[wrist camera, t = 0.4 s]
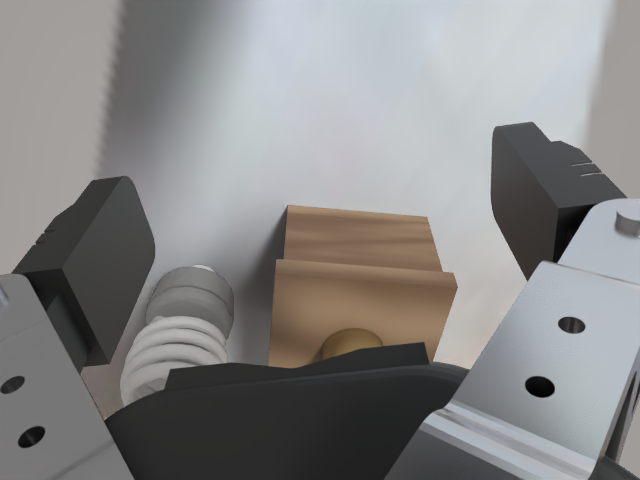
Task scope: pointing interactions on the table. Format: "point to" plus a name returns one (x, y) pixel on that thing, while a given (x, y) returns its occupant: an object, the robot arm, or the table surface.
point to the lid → (354, 309)
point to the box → (360, 239)
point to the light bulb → (179, 329)
